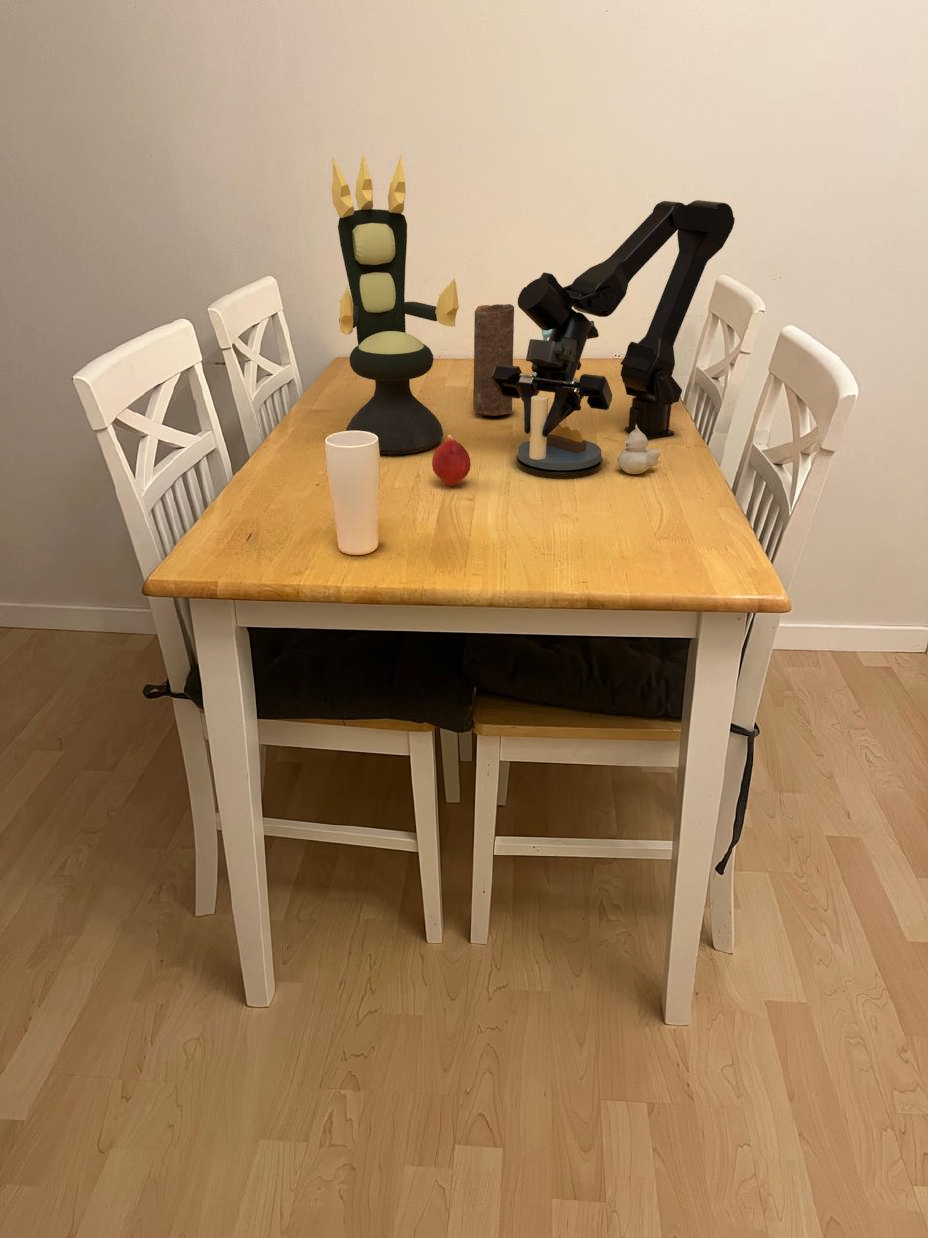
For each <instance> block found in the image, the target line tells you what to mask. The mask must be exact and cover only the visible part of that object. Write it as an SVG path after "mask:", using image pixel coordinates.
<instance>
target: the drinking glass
mask: <svg viewBox="0 0 928 1238" xmlns="http://www.w3.org/2000/svg"><path fill="white" fill-rule="evenodd" d="M324 443H325V444H324V449H325V451H324V452H325V453H324V455H325V467H326V475H327V482H328V488H329V493H330V500H331V506H332V512H333V518H334V525H335V532H336V542H337V547H338V549H339V551H340V552H341V553H343V554H346V555H349V556H364V555H368V554H371V553H373V552H374V551H376V550H377V548H378V546H379V512H380V511H379V509H380V489H381V488H380V485H381V454H380V452H379V441H378V437H377V436H376V435H375V434H373V433H370V432H365V431H346V430H344V431H339V432H335V433H331V434H330V435H328V436H327V437H326V438H325V439H324Z"/></svg>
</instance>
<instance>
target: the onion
mask: <svg viewBox="0 0 928 1238" xmlns="http://www.w3.org/2000/svg"><path fill="white" fill-rule="evenodd" d="M431 466H432V471H433V473H434V474H435V476H436V477H437V478H438V479H439V480H440V481H442V482H443V483H444V484H445V485H446V486H448V487H453V486H455V485H457V484H458V483H460V482H462V480H464V479H465V478H466V477H467V476H468V475H469V472H470V470H471V457H470V455H469V452H468V451H467V449H465V447H464V446H463V444H461V443H460V442H458V441H457V440H456V439H454V436H452V435H451V434H447V436H446V440H445V441H444V442H443V443H441V444H440V445H439V446H438V447H437V448H436V449H435V451H434V453H433V455H432V459H431Z"/></svg>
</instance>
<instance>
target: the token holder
mask: <svg viewBox="0 0 928 1238" xmlns="http://www.w3.org/2000/svg"><path fill="white" fill-rule="evenodd" d="M548 411H549V397H548V396H546V395H539V394H538V395H537V396H532V397H531V420H530V432H529V440H526V441H524V442H522V443H521V444H519V446H518V448H517V455H518V458H519V459H520V460H521V461H522V462H523V463H525V464H527V465H530V466H533V467H537V468H542V469H549V470H576V469H583V468H587V467H591V466H593V465H595V464H597V463H598V462H599V461H600V460H601V457H602V448H601V447H600V446H599V445H598V444H596V443H595V442H592V441H589V440H586V439H584V435H583V432H582V431H581V430H579V429H578V428H574V429H572V428H571V427H569V426H562V425H561V424H560V423H559V424H558V425H557V426H556V427H555V428H554V429H553V430H552V431H551V432H550V433H549V434H548V435H547V436H546V437H544V436H543V435H542V431H543V427H544V424H545V421H546V419H547V416H548V414H549V412H548Z"/></svg>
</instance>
